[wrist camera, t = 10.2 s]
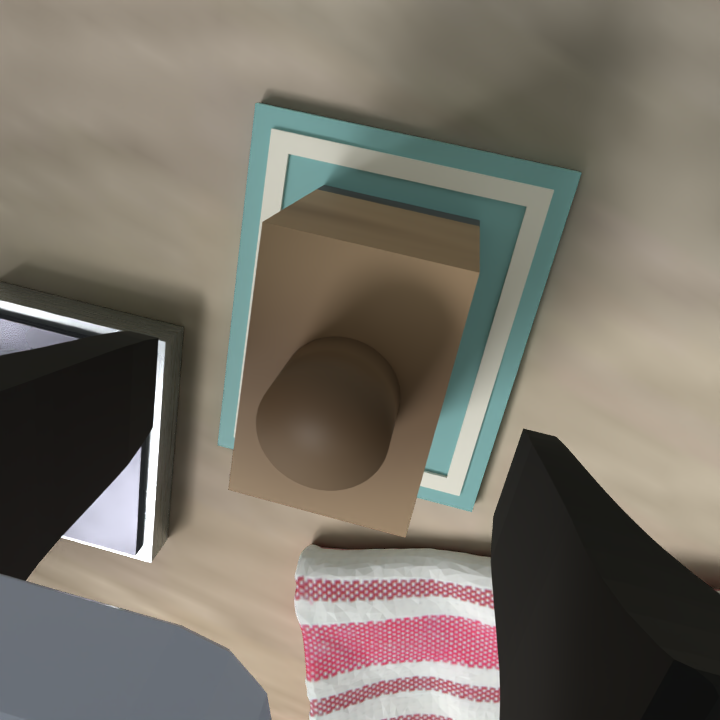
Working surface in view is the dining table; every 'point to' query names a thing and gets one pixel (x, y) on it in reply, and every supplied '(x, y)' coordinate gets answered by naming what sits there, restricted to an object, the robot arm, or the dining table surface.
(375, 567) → the dish towel
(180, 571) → the dining table surface
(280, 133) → the marked card
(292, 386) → the hand stamp
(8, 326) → the ink pad
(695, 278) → the dining table surface
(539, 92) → the dining table surface
